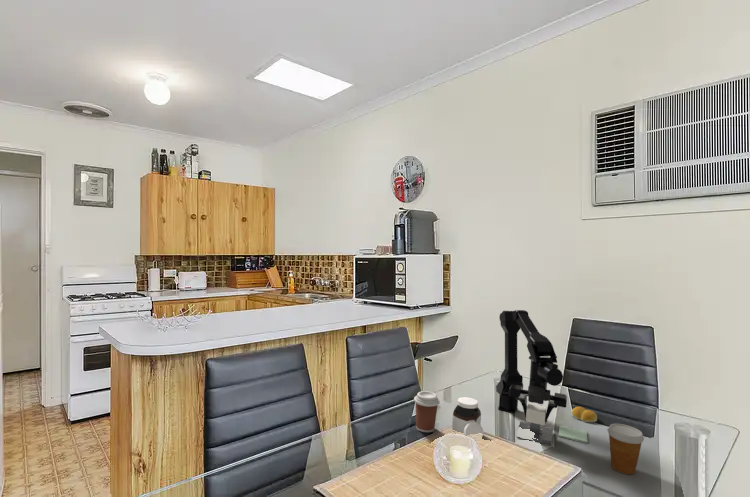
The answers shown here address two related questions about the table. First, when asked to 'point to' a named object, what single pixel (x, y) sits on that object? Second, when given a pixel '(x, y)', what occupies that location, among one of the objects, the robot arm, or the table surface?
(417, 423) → the coffee cup
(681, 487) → the table surface
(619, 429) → the disposable coffee cup
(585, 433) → the pad
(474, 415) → the spread jar
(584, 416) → the bread roll
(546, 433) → the post stand
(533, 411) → the beige block
